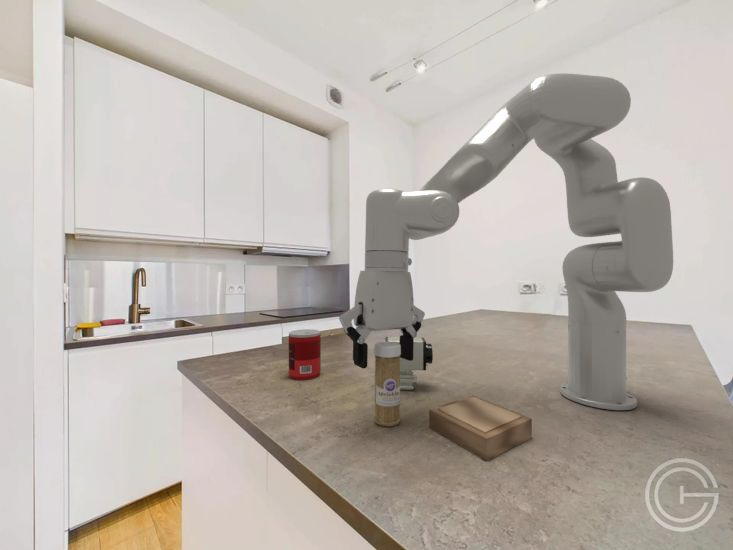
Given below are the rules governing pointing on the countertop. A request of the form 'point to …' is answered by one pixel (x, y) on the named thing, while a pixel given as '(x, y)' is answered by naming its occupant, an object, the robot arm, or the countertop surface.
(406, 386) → the pneumatic valve
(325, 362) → the countertop surface
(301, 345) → the canned food
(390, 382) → the sprinkles bottle
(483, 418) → the tan square tray
